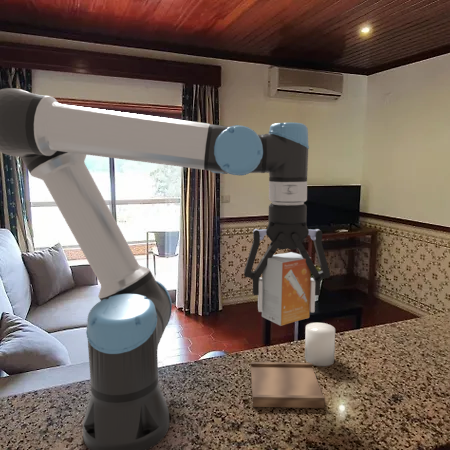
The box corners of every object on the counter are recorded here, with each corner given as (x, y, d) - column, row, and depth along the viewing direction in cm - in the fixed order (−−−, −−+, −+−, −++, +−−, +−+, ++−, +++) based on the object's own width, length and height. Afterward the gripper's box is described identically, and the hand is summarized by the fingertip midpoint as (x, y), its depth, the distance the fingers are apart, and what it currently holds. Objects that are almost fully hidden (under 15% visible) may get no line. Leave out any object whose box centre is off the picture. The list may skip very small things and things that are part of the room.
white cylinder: (307, 366, 93) (308, 334, 92) (301, 348, 102) (302, 318, 101) (337, 366, 93) (338, 334, 92) (328, 348, 102) (329, 319, 101)
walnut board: (252, 406, 77) (252, 396, 77) (250, 370, 91) (250, 362, 91) (324, 407, 77) (324, 398, 77) (311, 371, 91) (311, 362, 90)
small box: (281, 327, 77) (282, 262, 75) (260, 317, 82) (261, 256, 80) (310, 318, 81) (312, 256, 80) (289, 309, 87) (290, 251, 85)
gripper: (230, 204, 75) (231, 316, 78) (349, 204, 74) (345, 317, 77) (231, 201, 82) (231, 303, 86) (339, 201, 82) (336, 304, 85)
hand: (285, 309), depth 82 cm, fingers closed on small box, 10 cm apart
